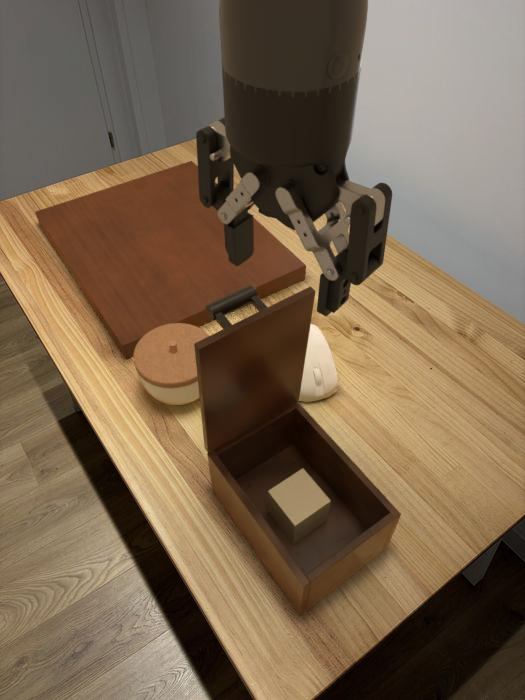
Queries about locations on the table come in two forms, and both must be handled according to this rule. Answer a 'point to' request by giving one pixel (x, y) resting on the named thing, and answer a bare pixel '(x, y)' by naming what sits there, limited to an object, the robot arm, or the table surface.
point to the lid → (251, 362)
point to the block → (298, 505)
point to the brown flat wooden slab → (158, 254)
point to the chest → (333, 479)
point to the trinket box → (169, 362)
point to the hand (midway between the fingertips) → (283, 282)
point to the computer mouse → (318, 369)
